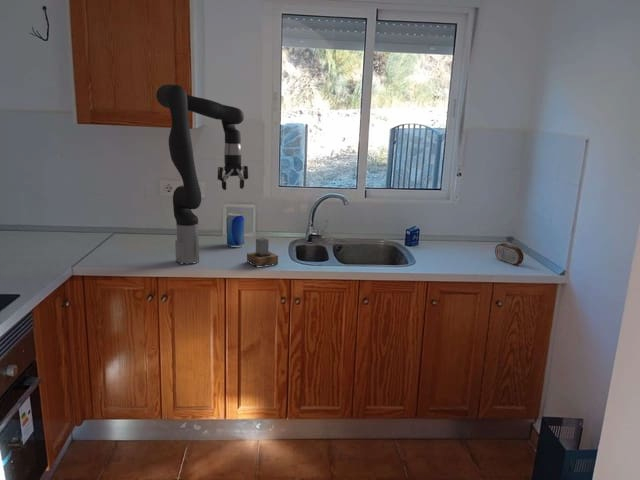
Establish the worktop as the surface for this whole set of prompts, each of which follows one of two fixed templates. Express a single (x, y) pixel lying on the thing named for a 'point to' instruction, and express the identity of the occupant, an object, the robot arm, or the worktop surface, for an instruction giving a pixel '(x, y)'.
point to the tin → (509, 254)
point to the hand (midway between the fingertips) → (233, 189)
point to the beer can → (235, 229)
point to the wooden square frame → (262, 259)
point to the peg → (261, 247)
